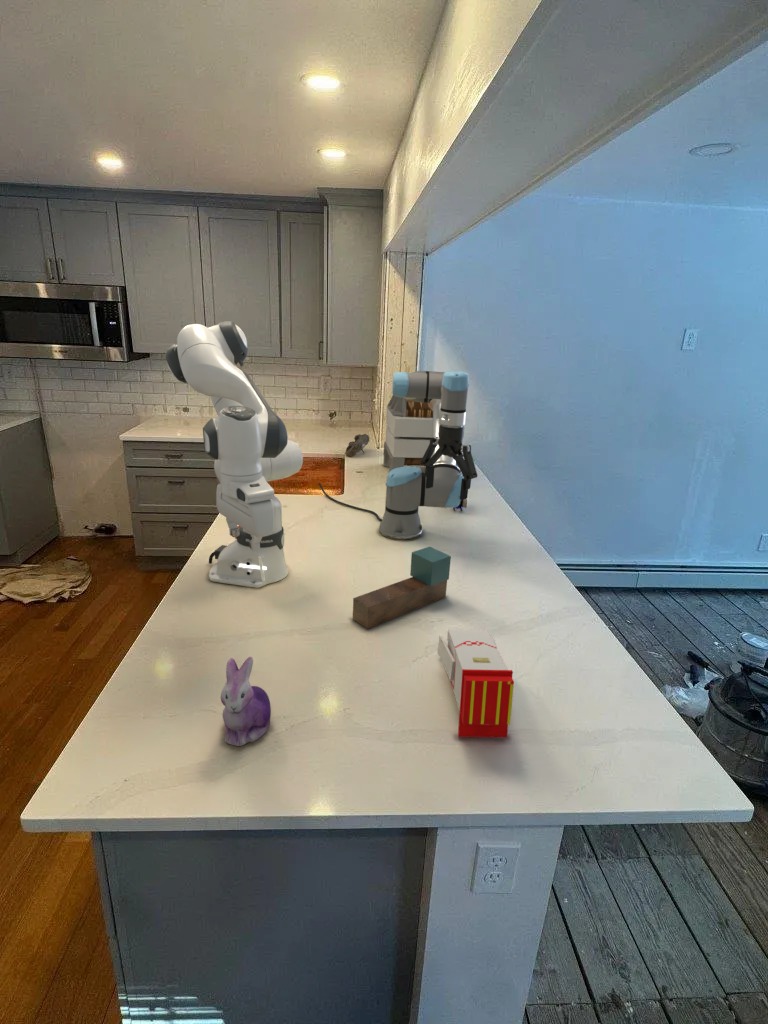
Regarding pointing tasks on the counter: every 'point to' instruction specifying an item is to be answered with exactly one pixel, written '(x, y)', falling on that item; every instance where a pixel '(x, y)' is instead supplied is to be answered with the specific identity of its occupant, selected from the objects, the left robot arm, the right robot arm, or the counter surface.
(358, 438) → the fossil
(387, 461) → the white storage bin
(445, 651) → the toy
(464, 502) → the figurine character
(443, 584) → the plank
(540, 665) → the counter surface
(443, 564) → the cap block
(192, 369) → the left robot arm
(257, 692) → the figurine
